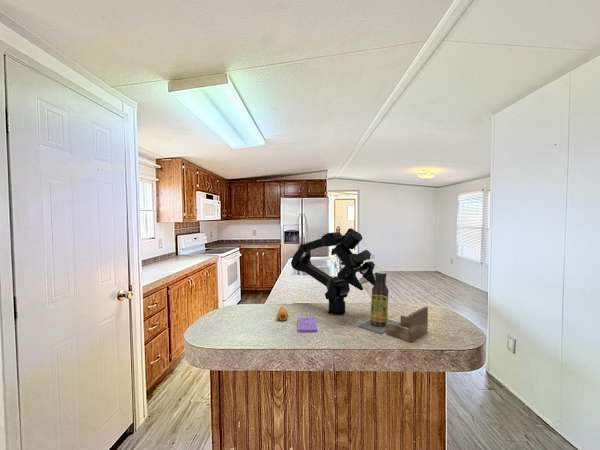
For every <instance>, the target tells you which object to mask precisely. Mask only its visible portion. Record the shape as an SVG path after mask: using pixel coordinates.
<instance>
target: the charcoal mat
mask: <svg viewBox="0 0 600 450" xmlns="http://www.w3.org/2000/svg"><path fill="white" fill-rule="evenodd" d="M387 322H389V323H392V324H396V325H399V326H401V321H400V322H399V321H395V320H391V319H388V318H387ZM357 328H361V329H364V330H367V331H370V332H372V333H373V332H374V333H377V334H379V335H383V334H386V325H385V326H375V325H373V324H371V319H370V320H368V321H365V322H363V323H360V324H358V325H357Z"/></svg>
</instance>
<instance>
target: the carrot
mask: <svg viewBox="0 0 600 450" xmlns="http://www.w3.org/2000/svg"><path fill="white" fill-rule="evenodd" d="M288 318H289V312H288V311H287V310H286V308H285V307H284V306H283V305H282V306H280V307H279V309H278V311H277V319H279V321H286V320H287V319H288Z"/></svg>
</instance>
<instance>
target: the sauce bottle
mask: <svg viewBox="0 0 600 450" xmlns="http://www.w3.org/2000/svg"><path fill="white" fill-rule="evenodd" d="M374 277H375V281H376V282H375V285H372V288H371V289H372V290H371V299H370V300H371V302H370V320H371V324H373V325H375V326H385V325H386V323H387V319H388V314H389V313H388V312H389V288H388V286H387V285H386V284H387V280H386V279H387V272H386V271H381V270H379V271H375V273H374Z"/></svg>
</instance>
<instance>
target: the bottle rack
mask: <svg viewBox="0 0 600 450" xmlns="http://www.w3.org/2000/svg"><path fill="white" fill-rule="evenodd" d="M428 312H429V307H428V306H422V307H421V308H420V309H418V310H415V311H413V312H412V313H410V314H408V316H407V315H404V314H403V315H402V314H401V315H400V323H401V324H400V325H396V324H392V323H389V322H387V323H386V332H385V334H386V335H388V336H391V337H395V338H398V339H401V340H403V341H407V342H408V343H413V342H415V341H416V340H418V339H419V338H420V337H422V336H424V335H425V334H427V333H428V327H429V326H428V323H429V322H428V321H429V319H428V318H429V317H428V315H429V313H428Z"/></svg>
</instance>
